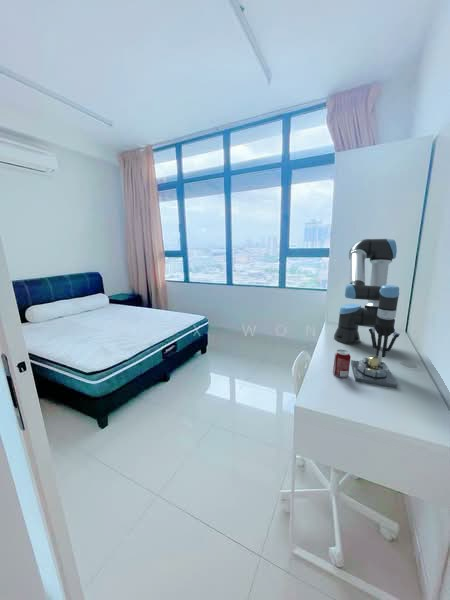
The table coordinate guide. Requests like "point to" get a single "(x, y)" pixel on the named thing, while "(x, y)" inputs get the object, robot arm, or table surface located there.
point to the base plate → (368, 379)
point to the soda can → (341, 363)
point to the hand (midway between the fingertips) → (379, 362)
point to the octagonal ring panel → (380, 372)
